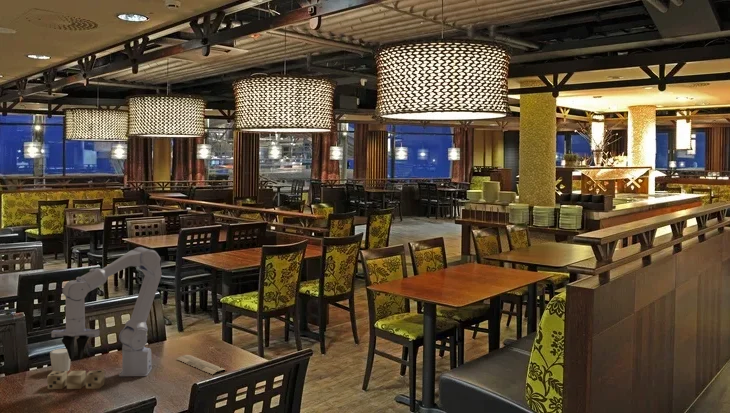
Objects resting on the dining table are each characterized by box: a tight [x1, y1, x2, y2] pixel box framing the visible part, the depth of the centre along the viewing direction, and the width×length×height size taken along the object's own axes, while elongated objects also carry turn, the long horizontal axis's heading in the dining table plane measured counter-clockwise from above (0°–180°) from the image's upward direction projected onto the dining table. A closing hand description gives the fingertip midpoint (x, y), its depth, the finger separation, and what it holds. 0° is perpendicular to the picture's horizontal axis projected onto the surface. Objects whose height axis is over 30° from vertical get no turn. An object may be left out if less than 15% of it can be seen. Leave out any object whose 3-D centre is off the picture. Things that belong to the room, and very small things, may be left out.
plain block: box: [66, 370, 87, 390], centre depth 204 cm, size 4×4×4 cm
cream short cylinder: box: [49, 347, 72, 372], centre depth 219 cm, size 7×7×7 cm
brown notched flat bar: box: [176, 354, 226, 376], centre depth 226 cm, size 24×7×2 cm, turn 48°
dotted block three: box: [47, 371, 68, 390], centre depth 204 cm, size 4×5×5 cm
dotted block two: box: [85, 369, 106, 389], centre depth 205 cm, size 4×5×5 cm
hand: (76, 358), depth 204 cm, fingers open, 2 cm apart
